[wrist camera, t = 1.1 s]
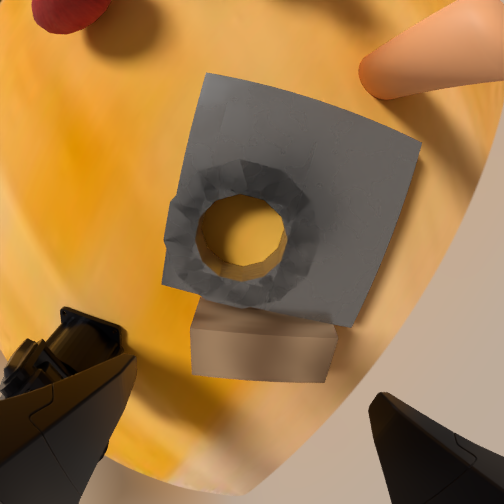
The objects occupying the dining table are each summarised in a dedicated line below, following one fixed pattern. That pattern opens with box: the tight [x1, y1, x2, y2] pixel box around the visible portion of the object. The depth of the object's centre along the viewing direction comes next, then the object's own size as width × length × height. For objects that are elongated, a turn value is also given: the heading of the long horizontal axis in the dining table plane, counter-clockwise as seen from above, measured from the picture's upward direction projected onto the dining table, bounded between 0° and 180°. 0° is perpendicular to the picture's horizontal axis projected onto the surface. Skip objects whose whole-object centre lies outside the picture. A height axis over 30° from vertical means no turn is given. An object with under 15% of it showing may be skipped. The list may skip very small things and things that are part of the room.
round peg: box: [359, 0, 504, 100], centre depth 11 cm, size 4×4×12 cm
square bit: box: [190, 297, 338, 383], centre depth 22 cm, size 10×4×4 cm, turn 85°
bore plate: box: [162, 73, 422, 328], centre depth 19 cm, size 14×14×2 cm
